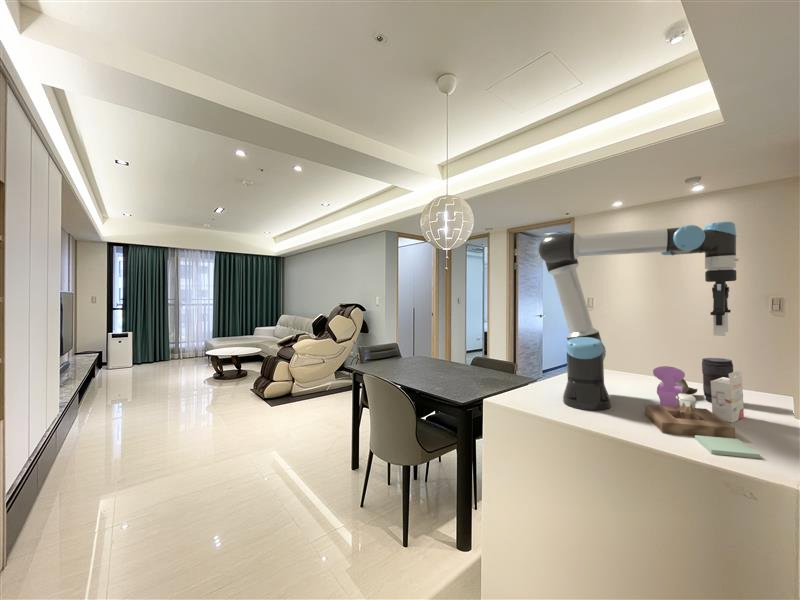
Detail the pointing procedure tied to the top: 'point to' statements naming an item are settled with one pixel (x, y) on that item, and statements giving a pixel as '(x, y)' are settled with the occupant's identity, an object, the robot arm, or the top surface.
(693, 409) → the milkshake
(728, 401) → the ink cartridge box
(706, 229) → the robot arm
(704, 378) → the camera lens
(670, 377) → the toy chair
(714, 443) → the mat
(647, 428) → the top surface
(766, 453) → the top surface
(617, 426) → the top surface
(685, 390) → the ceramic sculpture
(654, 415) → the pocket block
